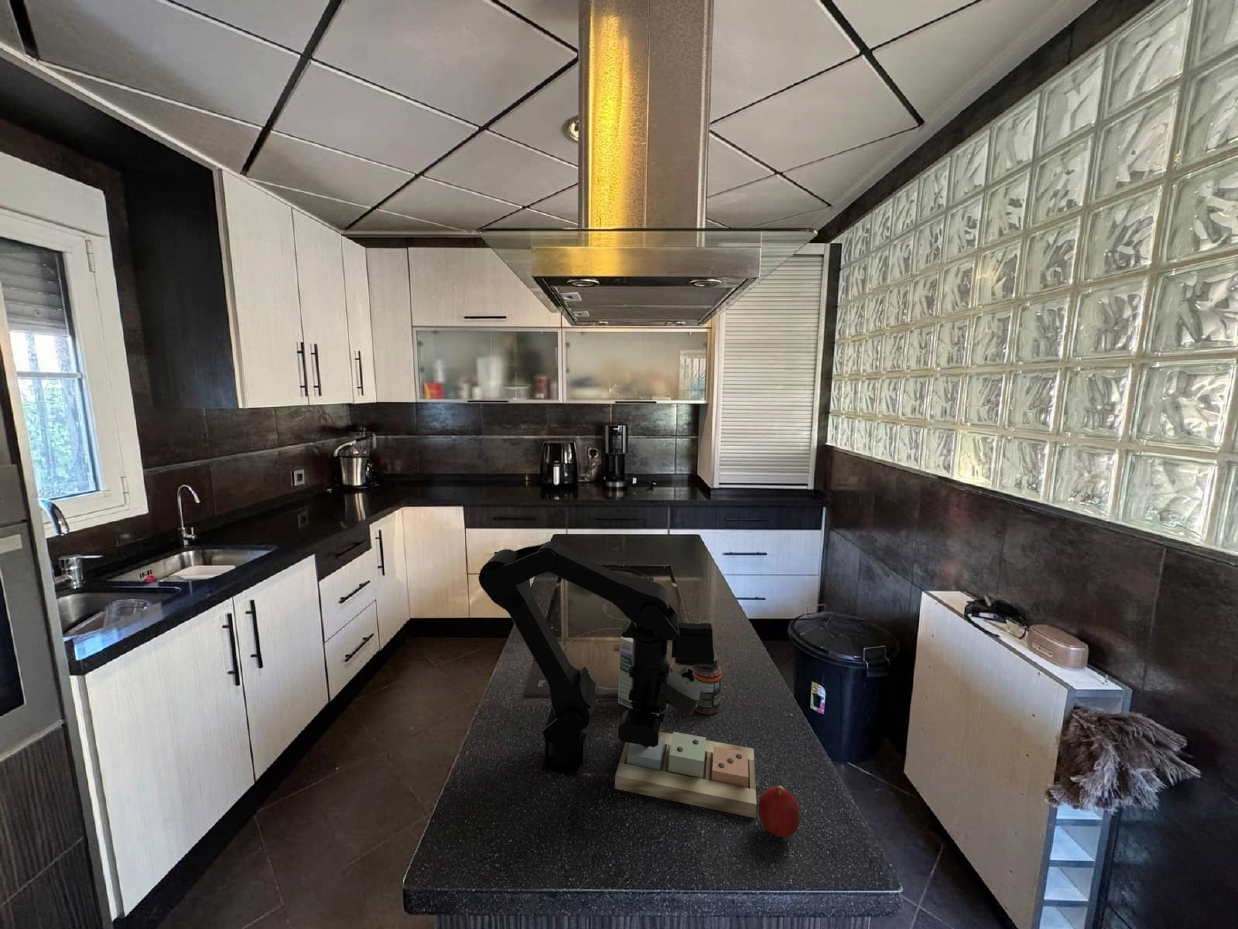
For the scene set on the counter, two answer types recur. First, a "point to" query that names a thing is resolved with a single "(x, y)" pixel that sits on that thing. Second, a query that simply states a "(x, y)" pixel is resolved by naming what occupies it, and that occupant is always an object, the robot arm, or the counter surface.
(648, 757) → the single dot cube
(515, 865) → the counter surface
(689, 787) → the tile tray
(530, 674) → the counter surface
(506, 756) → the counter surface
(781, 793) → the onion
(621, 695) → the syrup box
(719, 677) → the supplement bottle
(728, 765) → the tile three pip
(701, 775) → the tile two pip
